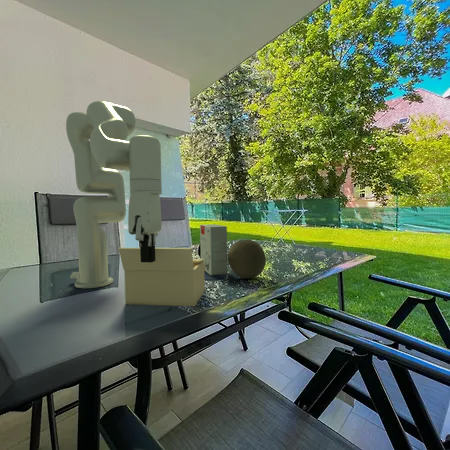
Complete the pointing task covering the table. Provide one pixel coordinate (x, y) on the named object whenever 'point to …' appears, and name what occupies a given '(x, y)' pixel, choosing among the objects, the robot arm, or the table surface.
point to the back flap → (198, 260)
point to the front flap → (158, 259)
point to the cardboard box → (165, 286)
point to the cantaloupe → (246, 259)
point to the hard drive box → (214, 248)
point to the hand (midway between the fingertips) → (148, 261)
